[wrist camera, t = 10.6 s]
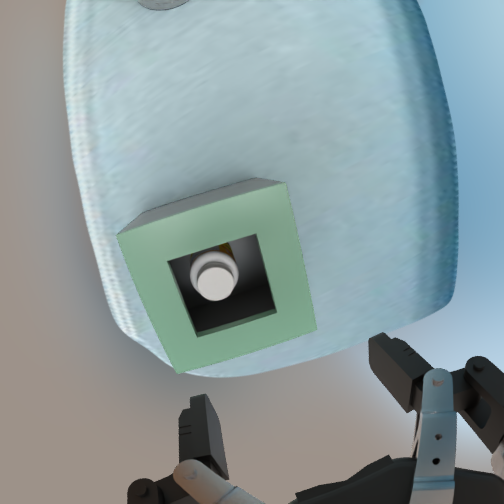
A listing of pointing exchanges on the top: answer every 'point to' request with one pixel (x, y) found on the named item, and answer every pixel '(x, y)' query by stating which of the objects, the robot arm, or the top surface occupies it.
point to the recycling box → (249, 267)
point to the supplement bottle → (214, 272)
